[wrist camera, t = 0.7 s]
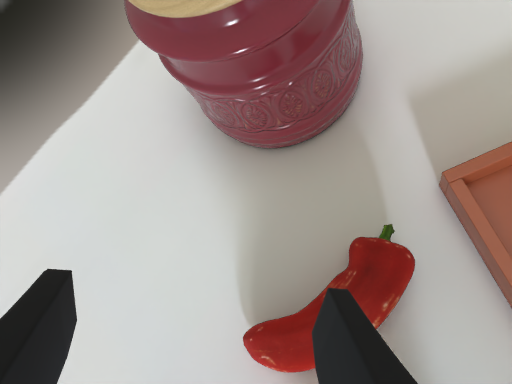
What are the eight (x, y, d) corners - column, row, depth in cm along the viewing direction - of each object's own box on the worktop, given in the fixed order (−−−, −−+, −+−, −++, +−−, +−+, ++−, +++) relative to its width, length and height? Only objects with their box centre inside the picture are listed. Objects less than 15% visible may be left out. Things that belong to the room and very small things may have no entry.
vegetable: (358, 193, 25) (225, 335, 26) (424, 248, 21) (265, 410, 23) (387, 223, 28) (267, 348, 29) (450, 275, 24) (308, 417, 26)
